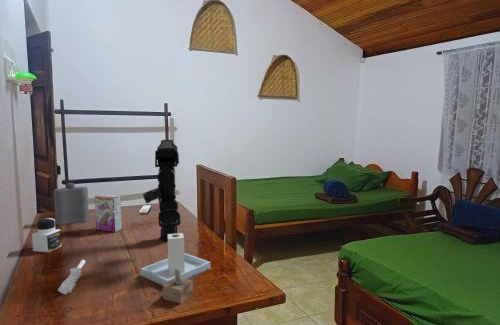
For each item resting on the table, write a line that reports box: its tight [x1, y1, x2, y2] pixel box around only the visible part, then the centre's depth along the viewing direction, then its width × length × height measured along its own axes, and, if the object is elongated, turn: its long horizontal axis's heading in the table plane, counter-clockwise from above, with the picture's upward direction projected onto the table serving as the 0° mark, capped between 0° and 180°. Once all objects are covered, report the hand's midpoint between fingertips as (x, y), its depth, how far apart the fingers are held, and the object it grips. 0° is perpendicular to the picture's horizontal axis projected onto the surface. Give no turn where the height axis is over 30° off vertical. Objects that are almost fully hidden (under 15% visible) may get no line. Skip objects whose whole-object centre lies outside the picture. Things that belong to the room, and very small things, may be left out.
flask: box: [53, 182, 90, 226], centre depth 169 cm, size 15×6×20 cm, turn 121°
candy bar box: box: [94, 193, 123, 233], centre depth 157 cm, size 11×5×16 cm, turn 71°
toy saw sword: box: [57, 259, 87, 295], centre depth 108 cm, size 3×4×22 cm
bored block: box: [167, 232, 185, 275], centre depth 112 cm, size 5×5×12 cm
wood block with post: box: [162, 269, 194, 304], centre depth 96 cm, size 6×6×8 cm
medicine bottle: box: [31, 217, 62, 253], centre depth 133 cm, size 7×7×12 cm
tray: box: [140, 252, 211, 287], centre depth 112 cm, size 18×14×2 cm
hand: (167, 222), depth 124 cm, fingers open, 9 cm apart
